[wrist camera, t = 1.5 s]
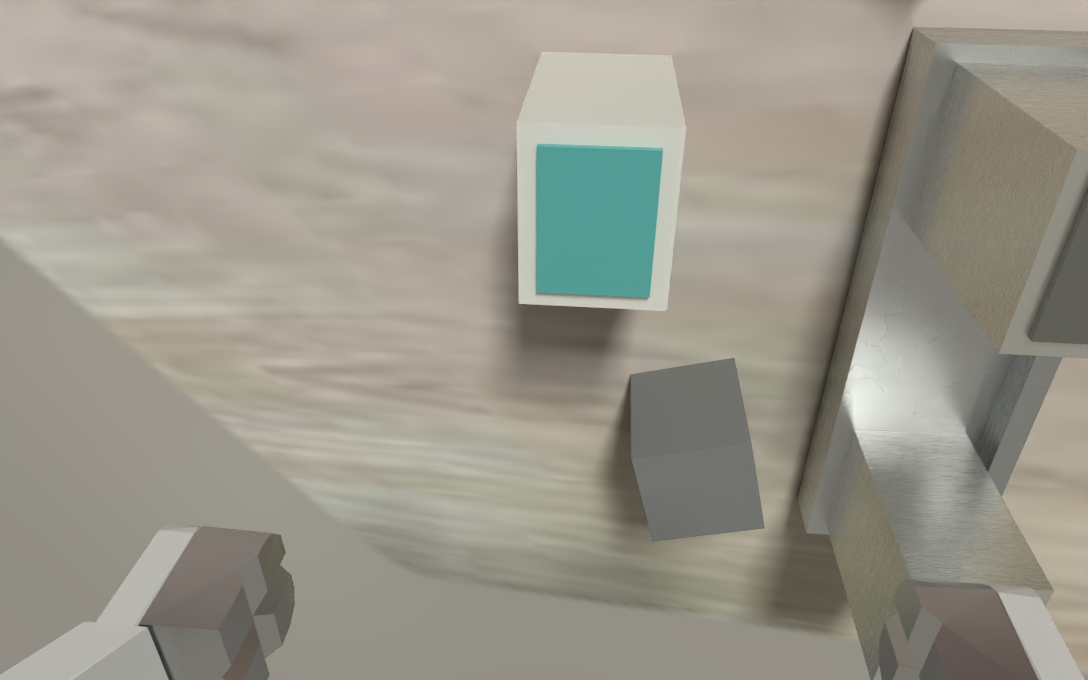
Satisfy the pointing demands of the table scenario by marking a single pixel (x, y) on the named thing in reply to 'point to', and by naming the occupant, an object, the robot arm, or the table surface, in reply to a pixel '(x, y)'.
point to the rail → (954, 318)
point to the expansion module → (599, 181)
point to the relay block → (693, 451)
